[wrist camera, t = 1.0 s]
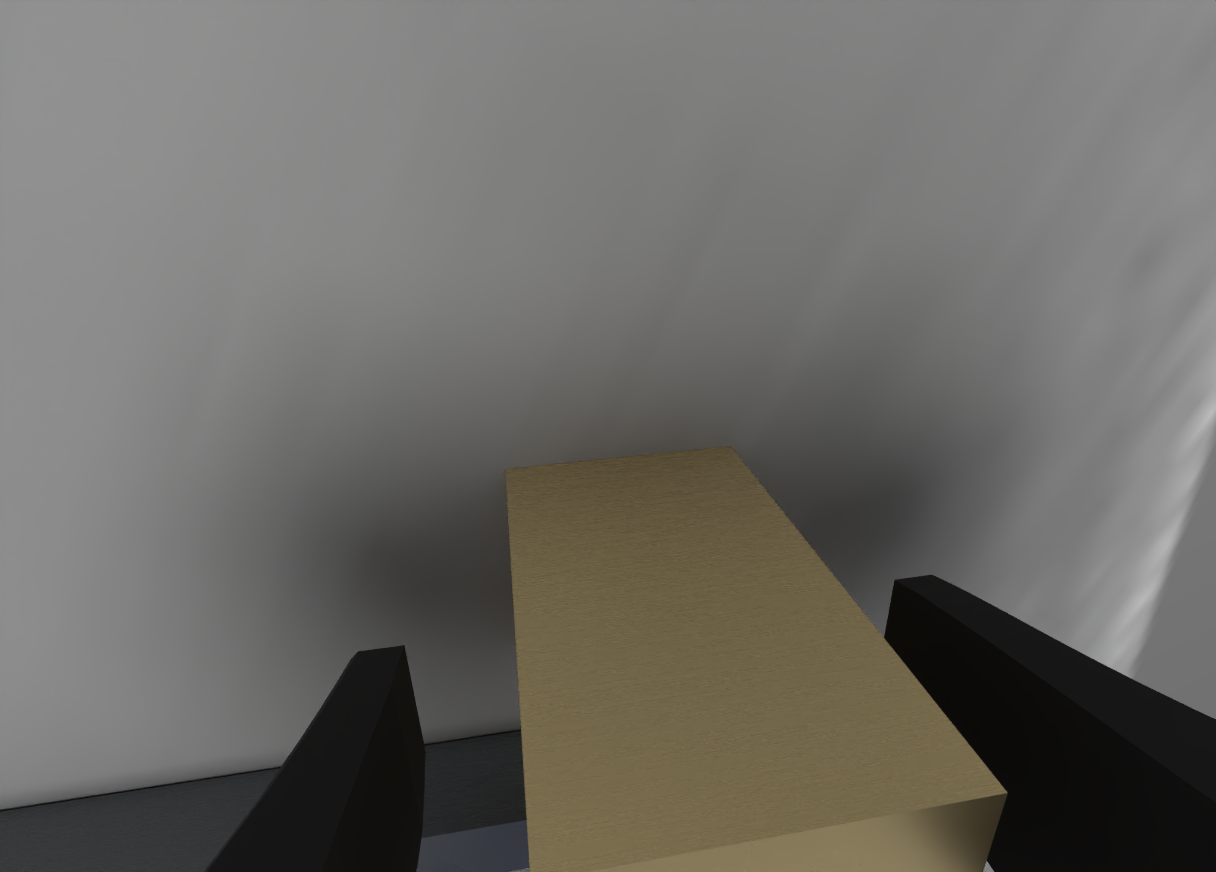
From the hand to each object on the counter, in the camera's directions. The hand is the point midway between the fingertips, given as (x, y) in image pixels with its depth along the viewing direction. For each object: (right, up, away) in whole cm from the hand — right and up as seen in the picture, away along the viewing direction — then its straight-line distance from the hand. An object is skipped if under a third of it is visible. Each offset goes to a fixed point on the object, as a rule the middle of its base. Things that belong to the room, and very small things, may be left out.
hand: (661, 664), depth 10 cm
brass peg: (-1, +1, +3) cm, 3 cm away
